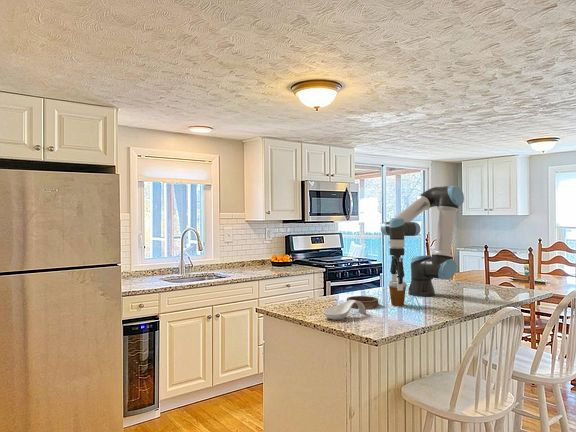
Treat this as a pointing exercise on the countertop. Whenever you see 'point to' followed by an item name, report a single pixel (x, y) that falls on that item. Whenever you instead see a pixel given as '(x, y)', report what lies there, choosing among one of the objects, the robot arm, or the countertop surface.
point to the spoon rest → (343, 310)
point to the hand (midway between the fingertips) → (397, 288)
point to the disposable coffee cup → (397, 294)
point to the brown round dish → (365, 301)
